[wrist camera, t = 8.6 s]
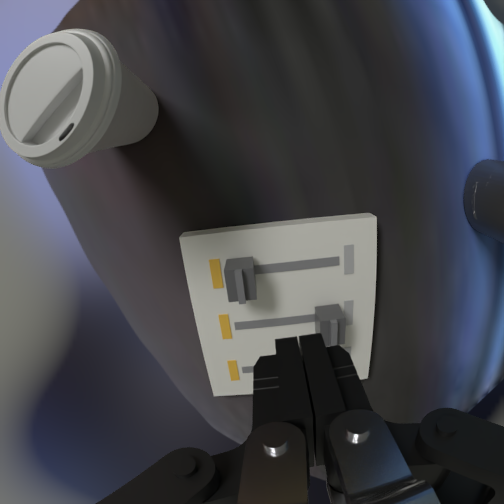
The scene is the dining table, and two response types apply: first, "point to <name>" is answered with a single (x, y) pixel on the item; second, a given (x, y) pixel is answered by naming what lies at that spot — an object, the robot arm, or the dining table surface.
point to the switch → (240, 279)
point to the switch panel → (280, 290)
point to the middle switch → (330, 324)
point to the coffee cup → (72, 100)
